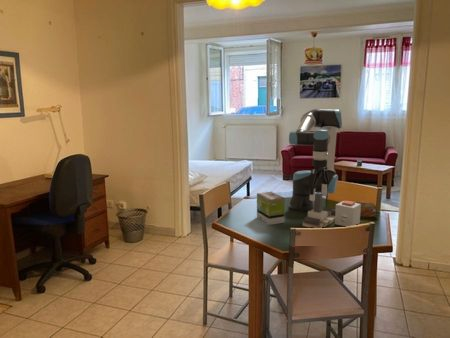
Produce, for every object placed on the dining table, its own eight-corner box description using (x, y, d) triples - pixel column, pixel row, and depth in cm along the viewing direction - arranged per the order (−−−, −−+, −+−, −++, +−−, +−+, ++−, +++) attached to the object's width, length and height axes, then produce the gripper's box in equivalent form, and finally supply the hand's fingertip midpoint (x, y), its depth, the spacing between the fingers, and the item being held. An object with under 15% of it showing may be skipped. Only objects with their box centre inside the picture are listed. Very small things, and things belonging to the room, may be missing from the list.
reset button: (341, 207, 211) (342, 202, 210) (345, 205, 215) (345, 200, 214) (350, 209, 208) (351, 203, 207) (354, 207, 211) (354, 202, 211)
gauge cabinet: (334, 224, 212) (335, 204, 210) (342, 219, 220) (343, 200, 218) (352, 228, 205) (353, 208, 203) (359, 223, 213) (360, 203, 211)
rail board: (319, 229, 203) (320, 220, 202) (302, 225, 209) (302, 216, 208) (339, 218, 221) (339, 210, 220) (322, 215, 227) (323, 207, 226)
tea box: (256, 217, 224) (256, 192, 221) (271, 215, 228) (271, 191, 225) (268, 225, 210) (269, 199, 208) (284, 222, 214) (285, 197, 212)
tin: (349, 215, 228) (350, 201, 227) (349, 213, 231) (350, 199, 230) (376, 217, 223) (377, 203, 221) (376, 216, 226) (377, 202, 224)
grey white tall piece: (321, 223, 206) (322, 196, 203) (307, 220, 211) (308, 193, 208) (327, 220, 211) (328, 193, 208) (313, 217, 216) (314, 191, 213)
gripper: (315, 162, 193) (313, 203, 197) (336, 157, 212) (334, 195, 215) (302, 161, 198) (300, 201, 201) (324, 156, 216) (322, 192, 220)
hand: (318, 198), depth 208 cm, fingers open, 13 cm apart
